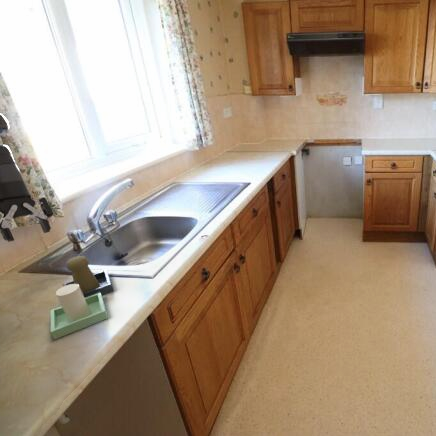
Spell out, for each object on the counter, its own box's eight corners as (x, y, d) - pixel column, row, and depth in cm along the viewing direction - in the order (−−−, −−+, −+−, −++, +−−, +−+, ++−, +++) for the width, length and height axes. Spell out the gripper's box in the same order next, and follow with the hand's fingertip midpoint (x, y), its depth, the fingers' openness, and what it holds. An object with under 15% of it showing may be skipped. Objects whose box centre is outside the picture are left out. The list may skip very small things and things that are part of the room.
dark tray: (67, 308, 91) (63, 301, 90) (65, 290, 99) (62, 283, 98) (113, 291, 98) (111, 284, 97) (109, 275, 105) (106, 269, 104)
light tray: (54, 339, 80) (50, 332, 79) (53, 317, 88) (50, 310, 87) (108, 318, 87) (105, 310, 86) (103, 299, 94) (100, 292, 93)
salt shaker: (69, 325, 84) (55, 298, 80) (68, 315, 88) (55, 288, 84) (92, 316, 87) (79, 289, 83) (90, 307, 90) (78, 281, 87)
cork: (103, 282, 101) (91, 252, 97) (94, 294, 96) (81, 262, 91) (83, 284, 101) (69, 254, 96) (72, 296, 95) (57, 265, 90)
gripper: (-23, 183, 83) (4, 242, 85) (42, 176, 96) (64, 227, 98) (-34, 189, 86) (-8, 246, 89) (31, 181, 99) (51, 231, 101)
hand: (30, 236), depth 93 cm, fingers open, 8 cm apart
